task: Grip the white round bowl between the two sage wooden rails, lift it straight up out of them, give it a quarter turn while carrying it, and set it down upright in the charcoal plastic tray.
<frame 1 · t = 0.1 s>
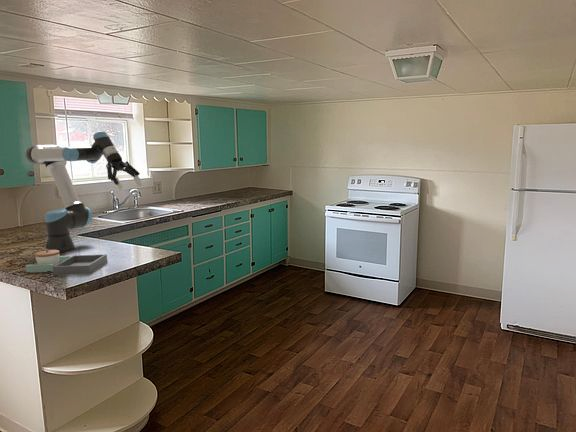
hand: (131, 187, 243), 36 cm above the counter, tool tilted 35°, fingers open, 13 cm apart
white round bowl: (49, 267, 223), on the counter
rail holder: (49, 267, 223), on the counter
tray: (81, 268, 219), on the counter
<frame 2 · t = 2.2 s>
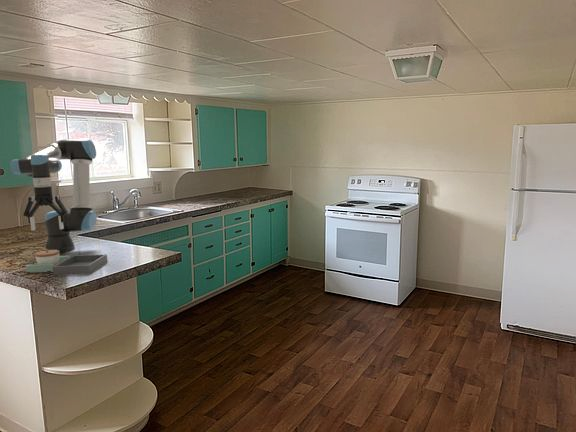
hand: (47, 229, 220), 19 cm above the counter, tool pointing down, fingers open, 13 cm apart
nothing on the counter moved.
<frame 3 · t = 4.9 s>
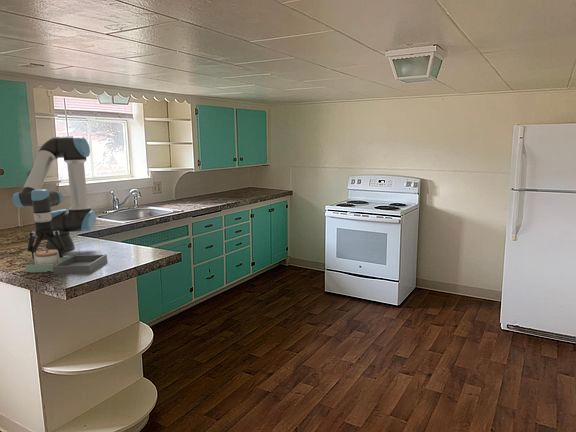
hand: (48, 264, 222), 1 cm above the counter, tool pointing down, fingers closed on white round bowl, 11 cm apart
white round bowl: (49, 267, 223), on the counter, touching gripper
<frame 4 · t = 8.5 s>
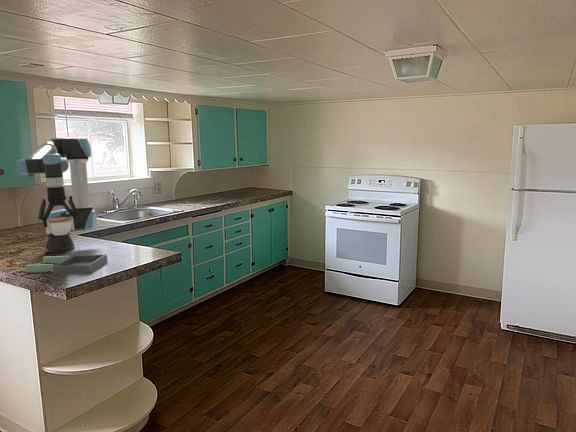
hand: (60, 231, 217), 18 cm above the counter, tool pointing down, fingers closed on white round bowl, 11 cm apart
white round bowl: (60, 234, 218), point 17 cm above the counter, touching gripper
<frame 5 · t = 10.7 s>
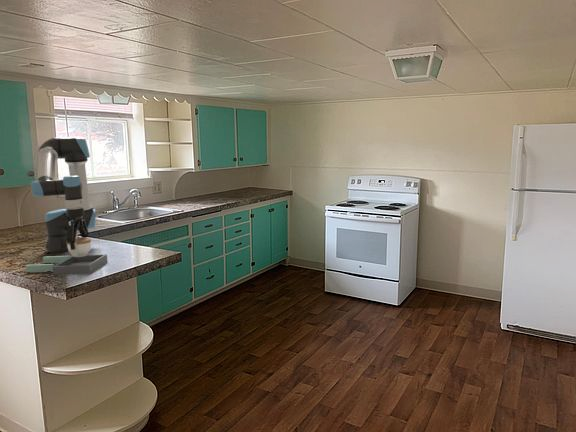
hand: (80, 252, 217), 8 cm above the counter, tool pointing down, fingers closed on white round bowl, 11 cm apart
white round bowl: (80, 256, 218), point 6 cm above the counter, touching gripper
when the fingers open (4 cm above the counter, at t = 12.4 s): white round bowl drops 1 cm, resting on tray.
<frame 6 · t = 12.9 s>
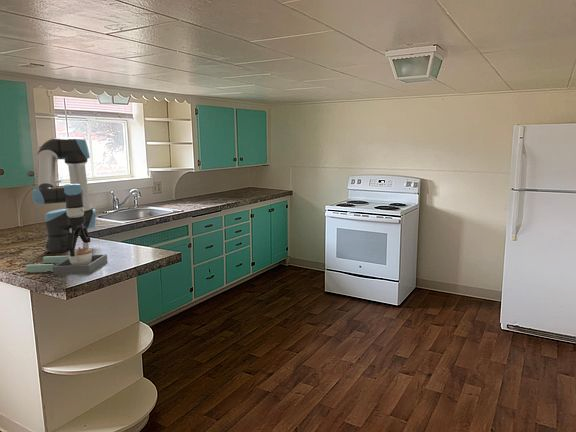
hand: (80, 259, 218), 5 cm above the counter, tool pointing down, fingers open, 13 cm apart
white round bowl: (81, 266, 219), point 1 cm above the counter, touching tray
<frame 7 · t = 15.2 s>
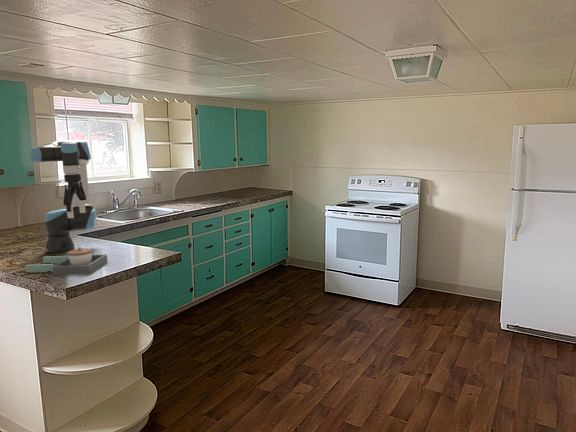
hand: (77, 215, 228), 24 cm above the counter, tool pointing down, fingers open, 13 cm apart
nothing on the counter moved.
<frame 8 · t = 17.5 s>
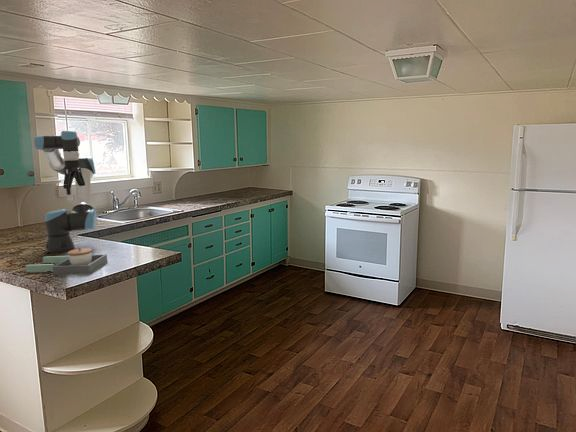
hand: (76, 199, 243), 31 cm above the counter, tool pointing down, fingers open, 13 cm apart
nothing on the counter moved.
at the end: white round bowl inside the target area on the tray (0.0 cm from its centre), point 0.8 cm above the tray's base; white round bowl tilted 0°; the gripper is holding nothing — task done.
